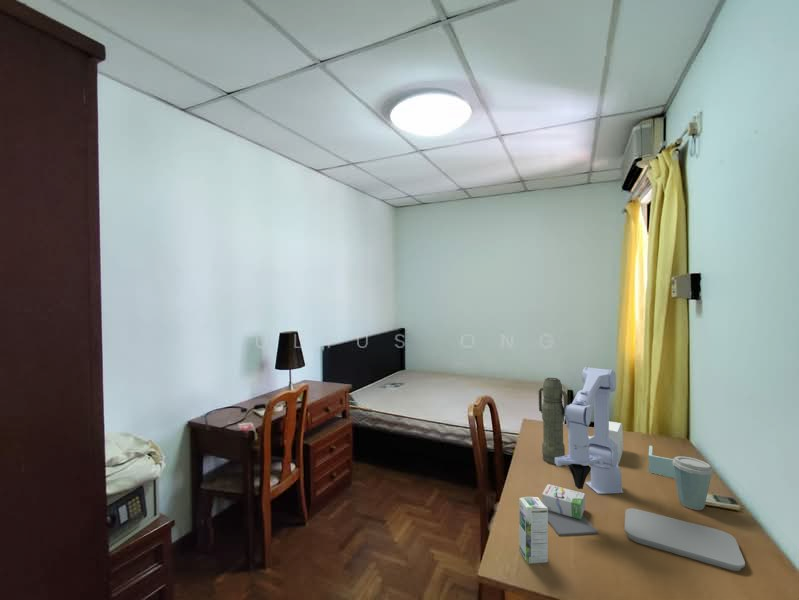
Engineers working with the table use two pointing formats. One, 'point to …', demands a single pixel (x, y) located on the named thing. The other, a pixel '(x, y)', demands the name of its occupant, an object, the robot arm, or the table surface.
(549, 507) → the ink box
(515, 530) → the table surface
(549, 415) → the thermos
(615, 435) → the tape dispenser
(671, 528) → the tablet
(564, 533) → the mat
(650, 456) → the l-shaped corner panel
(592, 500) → the table surface
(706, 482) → the disposable coffee cup
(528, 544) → the syrup box
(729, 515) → the table surface
